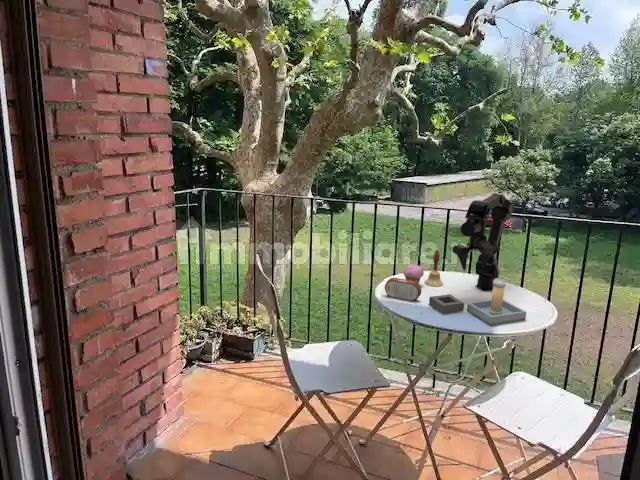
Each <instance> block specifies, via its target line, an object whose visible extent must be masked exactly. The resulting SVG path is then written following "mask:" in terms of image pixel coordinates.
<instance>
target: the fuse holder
mask: <svg viewBox="0 0 640 480" xmlns="http://www.w3.org/2000/svg"><path fill="white" fill-rule="evenodd" d="M428 305H429V306H430V307H432V308H433V309H434V310H436V311H437V312H439V313H440V314H442V315H446V314H447V315H448V314H455V313H460V312H465V302H464V301H462V300H460V299H459V298H457V297H455V296H454V295H452V294H442V295H441V294H440V295H433V296H429V300H428Z"/></svg>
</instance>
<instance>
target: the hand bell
mask: <svg viewBox="0 0 640 480" xmlns="http://www.w3.org/2000/svg"><path fill="white" fill-rule="evenodd" d="M432 259H433V269H432V270H431V271H429V275H428V278H426V280H424V284H425V285H426V286H429V287H436V288H438V287H442V286H444V283H443V281H442V280H441V273H440V271H438V263H439V261H440V252H439V249H435V251H434V253H433V258H432Z"/></svg>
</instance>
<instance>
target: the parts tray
mask: <svg viewBox="0 0 640 480" xmlns="http://www.w3.org/2000/svg"><path fill="white" fill-rule="evenodd" d="M491 300H492V299H486V300H477V301H470V302H467V304H466V313H469V314H470V315H472V316H473V317H475V318H477V319H479V321H482V322H483V323H484V324H486V325H488V326H490V327H492V326H493V327H494V326H497V325H507V324H511V323H519V322H525V321H526V318H527V311H526V310H524V309H522V308H520V307H518V306H517V305H514V304H512V303H510V302H508V301H506V300H505V299H503V303H502V314H500V315H492V314H490V313H489V312H490V308H491Z"/></svg>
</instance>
